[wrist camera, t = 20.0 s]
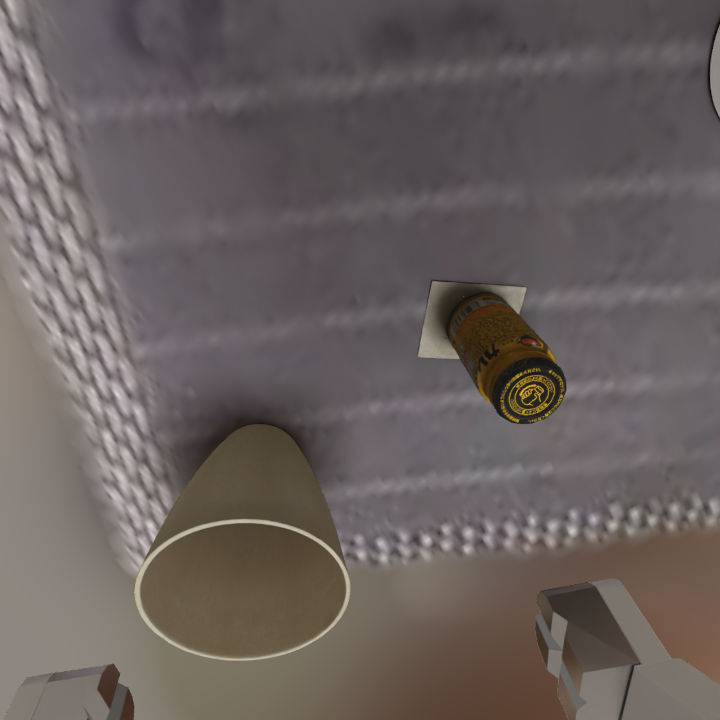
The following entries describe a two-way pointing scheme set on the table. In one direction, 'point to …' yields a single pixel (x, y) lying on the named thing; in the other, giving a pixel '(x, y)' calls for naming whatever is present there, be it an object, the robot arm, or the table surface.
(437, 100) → the table surface
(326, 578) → the plant pot
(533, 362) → the condiment
